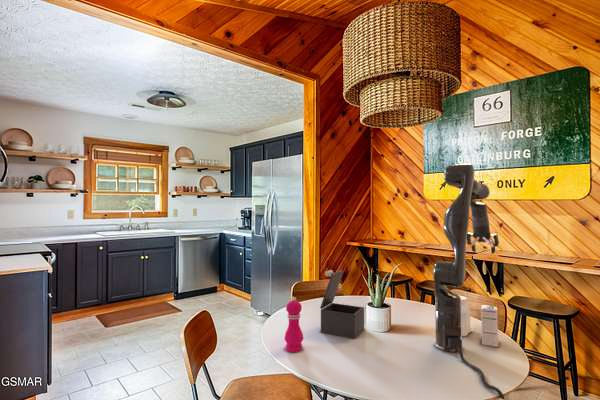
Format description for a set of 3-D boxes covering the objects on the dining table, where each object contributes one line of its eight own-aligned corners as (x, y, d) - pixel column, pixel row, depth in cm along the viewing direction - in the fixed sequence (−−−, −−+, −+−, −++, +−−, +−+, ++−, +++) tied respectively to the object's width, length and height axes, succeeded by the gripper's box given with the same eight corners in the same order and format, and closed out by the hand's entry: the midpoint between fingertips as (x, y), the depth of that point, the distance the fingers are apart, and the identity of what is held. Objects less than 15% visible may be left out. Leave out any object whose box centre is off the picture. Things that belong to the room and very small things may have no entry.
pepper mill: (302, 345, 138) (302, 294, 138) (303, 352, 130) (303, 299, 131) (284, 345, 137) (284, 294, 138) (284, 353, 130) (284, 299, 130)
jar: (449, 325, 160) (449, 292, 160) (472, 330, 154) (471, 296, 154) (441, 332, 151) (441, 297, 151) (465, 337, 145) (464, 301, 145)
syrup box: (498, 347, 135) (498, 309, 135) (481, 344, 138) (480, 307, 138) (498, 342, 140) (497, 306, 140) (481, 339, 143) (481, 304, 143)
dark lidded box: (364, 329, 155) (364, 307, 155) (354, 338, 144) (354, 314, 144) (332, 323, 163) (332, 302, 163) (320, 332, 152) (320, 309, 152)
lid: (343, 270, 160) (334, 265, 163) (333, 275, 149) (322, 269, 152) (332, 302, 163) (323, 297, 165) (321, 309, 152) (311, 303, 154)
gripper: (463, 225, 176) (466, 254, 180) (494, 226, 167) (497, 256, 171) (467, 220, 182) (470, 248, 186) (497, 220, 172) (500, 250, 176)
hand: (483, 252), depth 178 cm, fingers open, 8 cm apart
